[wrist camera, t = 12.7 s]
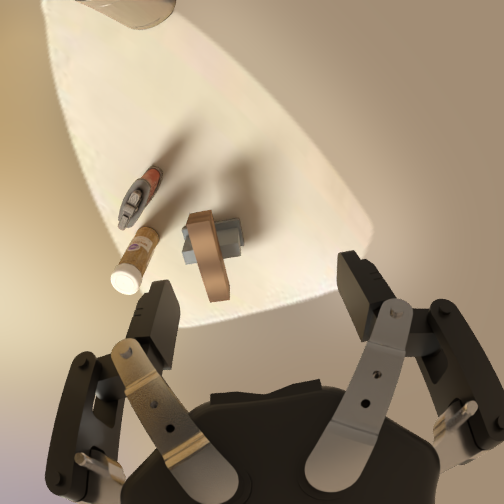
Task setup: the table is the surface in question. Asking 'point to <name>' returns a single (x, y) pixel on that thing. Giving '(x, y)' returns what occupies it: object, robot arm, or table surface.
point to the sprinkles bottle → (135, 261)
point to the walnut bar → (208, 255)
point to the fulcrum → (227, 238)
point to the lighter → (139, 197)
